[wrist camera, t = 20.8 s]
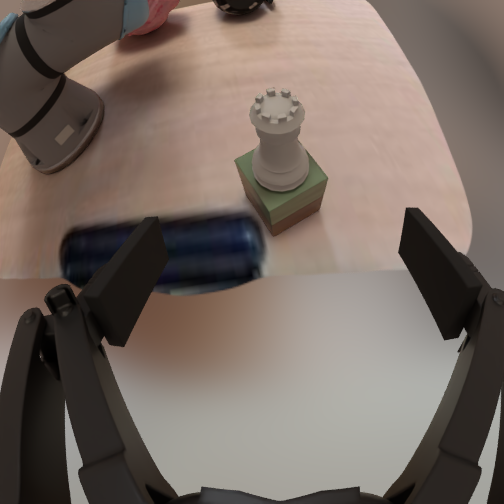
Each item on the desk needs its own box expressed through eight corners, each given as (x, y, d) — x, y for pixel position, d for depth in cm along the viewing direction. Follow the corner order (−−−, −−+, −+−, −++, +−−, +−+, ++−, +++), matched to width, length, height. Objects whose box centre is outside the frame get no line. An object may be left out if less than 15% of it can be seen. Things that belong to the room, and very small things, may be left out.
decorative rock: (106, -27, 29) (176, -24, 37) (93, 31, 39) (160, 31, 47) (110, -38, 19) (204, -30, 27) (91, 43, 29) (181, 44, 37)
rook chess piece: (251, 147, 23) (236, 80, 15) (305, 144, 23) (309, 75, 15) (253, 196, 22) (236, 136, 14) (311, 192, 22) (321, 130, 14)
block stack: (245, 193, 30) (234, 159, 23) (290, 168, 30) (290, 130, 23) (273, 237, 29) (269, 212, 22) (319, 209, 29) (328, 178, 22)
